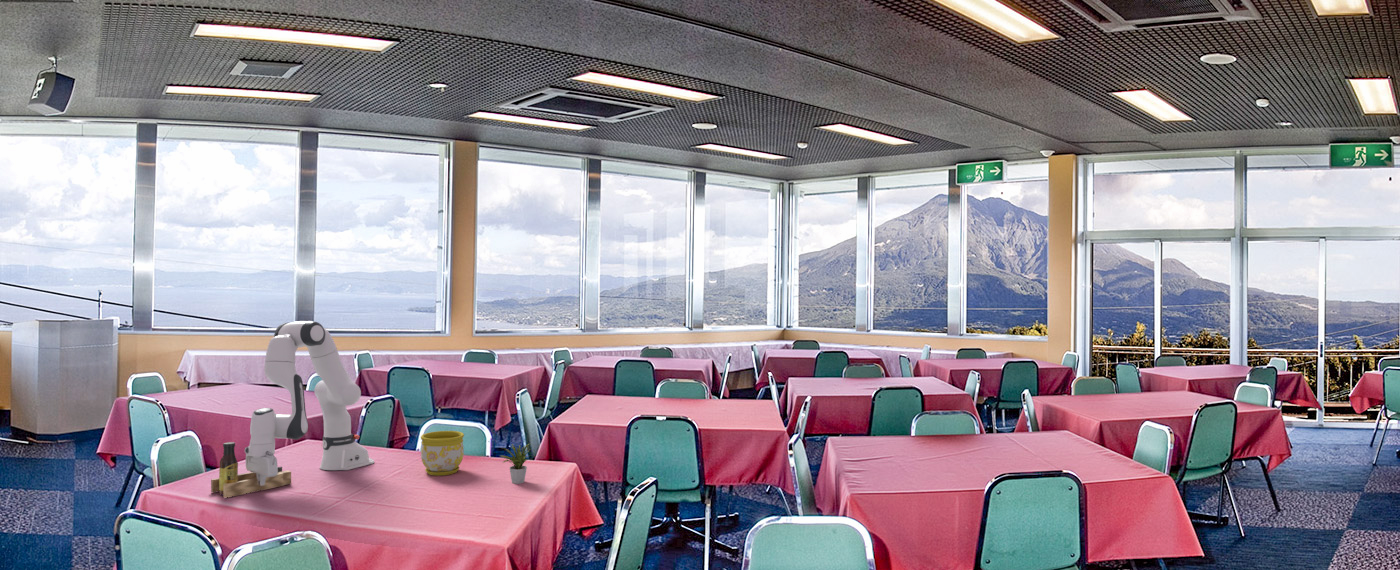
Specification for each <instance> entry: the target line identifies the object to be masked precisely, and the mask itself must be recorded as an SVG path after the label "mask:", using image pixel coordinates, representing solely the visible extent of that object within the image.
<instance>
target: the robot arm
mask: <svg viewBox="0 0 1400 570" xmlns="http://www.w3.org/2000/svg"><path fill="white" fill-rule="evenodd" d="M274 331H275V332H274V335H273V337H271V339H270V340H269V343H268V345H267V348H266V352H265V357H264V369H263V371H264V376H265V377H266V378H267V380H268V381H269V382H271V383H272V384H275V385H277V386H280V387H283V388H284V389H286V390H287V392H288V393H289V394H290V401H291V412H292V413H291V414H284V413H283V414H280V413H275V410H274V408H271V407H262V408H258V409H255V410H253V412H252V414H251V418H250V419H251V420H250V424H249V425H250V428H249V433H250V440H249V445H248V446H246V447H245V448H244V453H245V469H246V470H247V471H248V472H254V473H256V476H257V480H258V485H260V486H263V485H265V480H266V478H267V477H274V476H277V474H278V467H279V465H278V458H277V456H275V453H276V449H275V448H276V439H288V440H295V441H296V440H300V439H301V438H303V437H304V436H305V435H306V434H307V432H308V429H309V423H308V418H307V413H306V402H305V390H304V388H305V387H304V384H303V379H302V377H301V375H299V374H298V373H297V370H296V352H297V350H298V348H305V347H306V349H308V355H309V357H310V360H311V362H312V363H311V364H312V365H313V368H314V371H315V373H316V375H317V376H319V377H320V378H321V380H320V381H318V382H317V383H316V385H315V386H314V388H313V389H314V395H315V398H317V400H318V402H319V406H320V408H321V412H322V417H323V418H322V419H323V436H322V458H321V462H320V466H319V469H320V470H323V471H349V470H352V469H357V468H360V467H365V466H369V465H372V464H375V460H374V459H373V458H370V454H369V452H368V449H367V448H366V447H364V446H363V445H361V444H359V443H358V442H356V440H359V439H360V435H359V434H353V433H352V417H351V415H350V413H349V412H348V410H347V407H348V406H352V405H355V404H356V403H357V402H359V400H360V398H361V395H362V391H361V387H360V386H359V385H358V384H357V383H356V382H354V380H353V379H352V377H351V375H350V374H349V373H348V371H347V370H346V368H345V367H344V364H343V362H342V360H341V357H340V354H339V351H338V348H337V346H336V343H335V341H334V339H333V337H332V335H331V333H330V332H329V331H328V329H326V328H324V326H323V325H322V324H321V323H320V322H318V321H314V320H298V321H291V322H284V323H282V324H279V326H277V328H276V329H275V330H274ZM346 406H347V407H346ZM247 471H246V472H247Z"/></svg>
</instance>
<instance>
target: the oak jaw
mask: <svg viewBox="0 0 1400 570" xmlns="http://www.w3.org/2000/svg"><path fill="white" fill-rule="evenodd" d="M291 484H292V471H291V470H282V472H278V474H277V476H274V477H267V478H266V480H265V485H263V486H260V485H258V480H257V478H253V479H248V480H243V481H238V482H233V483H228V484H223V495H222V496H223V498H224V497H225V499H227V497H228V498H232V496H233V497H236V496H241V495H246V493H247V494H250V492H251V493H255V491H256V492H259V491H260V490H261V491H264V490H269V489H275V488H278V487H282V486H285V485H291Z"/></svg>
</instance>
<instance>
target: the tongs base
mask: <svg viewBox="0 0 1400 570" xmlns="http://www.w3.org/2000/svg"><path fill="white" fill-rule="evenodd" d="M282 471H283V467H282V466H278V472H282ZM253 478H257V476H256V473H254V472H250V471H248V472H244V473H238V480H237V482H238V481H243V480H248V479H253ZM216 491H219V477H217V478H211V479H210V492H211V493H212V492H214V493H217V492H216Z"/></svg>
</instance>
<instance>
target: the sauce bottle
mask: <svg viewBox="0 0 1400 570" xmlns="http://www.w3.org/2000/svg"><path fill="white" fill-rule="evenodd" d="M222 447H223V455H222V457H221V458H220V460H219V469H218V470H219V473H218V475H219V477H218V478H219V493H218V494H219V495H220V494H223V484H228V483H233V482H237V480H238V474H239V473H238V472H239V469H238V468H239V467H238V466H239V463H238V460H237V458H236V454H235V447H236V442H234V441H229V442H223V444H222Z"/></svg>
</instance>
